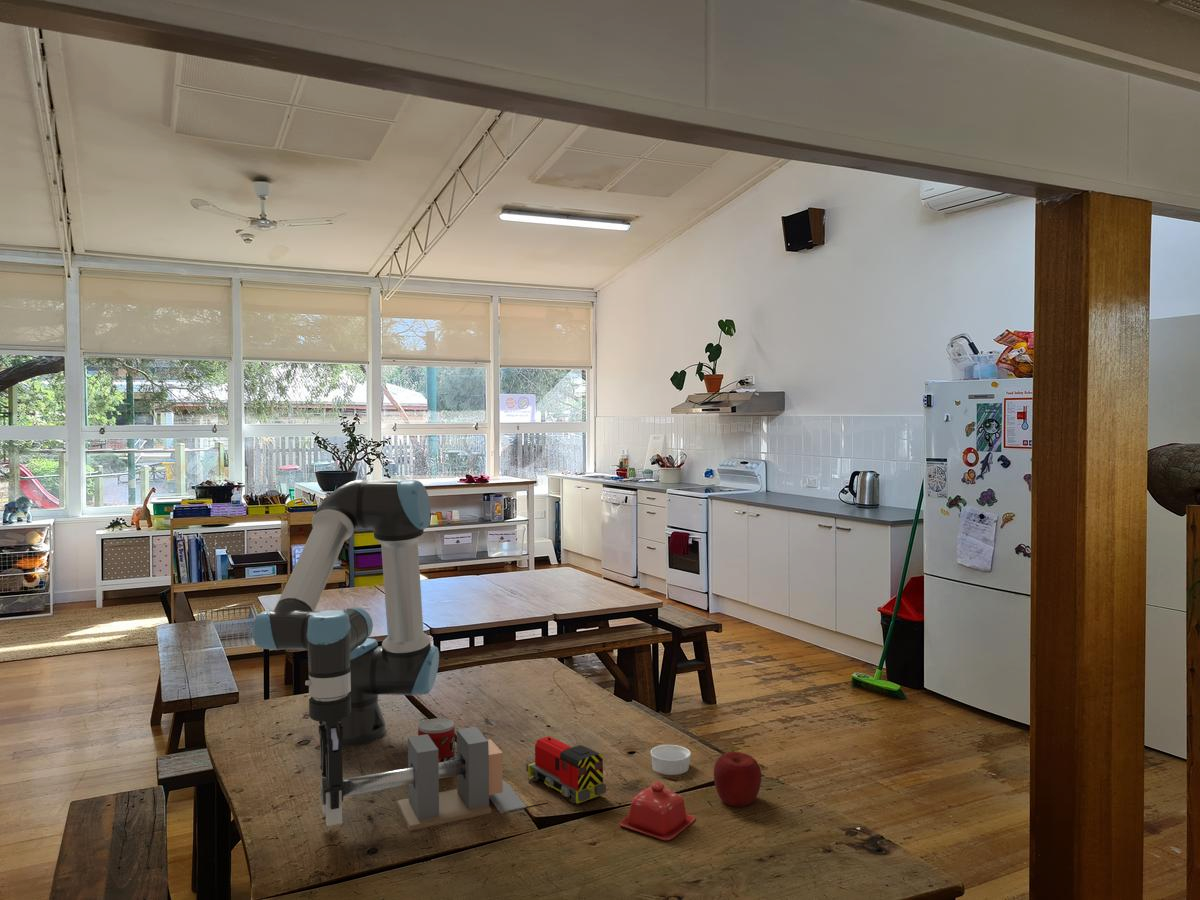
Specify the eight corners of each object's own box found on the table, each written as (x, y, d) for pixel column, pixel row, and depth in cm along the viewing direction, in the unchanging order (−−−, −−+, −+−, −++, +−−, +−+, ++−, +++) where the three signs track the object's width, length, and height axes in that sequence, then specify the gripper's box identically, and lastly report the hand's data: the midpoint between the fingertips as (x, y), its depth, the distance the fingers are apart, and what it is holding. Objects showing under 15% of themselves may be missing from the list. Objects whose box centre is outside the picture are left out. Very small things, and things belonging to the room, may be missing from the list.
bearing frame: (409, 831, 157) (408, 757, 157) (397, 805, 168) (396, 736, 168) (491, 814, 164) (490, 743, 164) (474, 790, 175) (473, 724, 174)
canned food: (447, 782, 179) (446, 731, 179) (412, 779, 181) (411, 729, 180) (460, 768, 187) (459, 719, 186) (426, 765, 188) (426, 717, 188)
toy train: (580, 811, 165) (580, 761, 165) (525, 780, 180) (525, 734, 180) (606, 801, 169) (606, 753, 169) (551, 772, 184) (550, 727, 184)
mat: (479, 787, 176) (479, 784, 176) (524, 778, 181) (524, 775, 181) (500, 814, 164) (500, 811, 164) (547, 804, 168) (547, 802, 168)
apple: (732, 819, 161) (732, 767, 161) (703, 799, 170) (703, 751, 170) (771, 808, 166) (771, 758, 165) (741, 790, 174) (741, 742, 174)
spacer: (476, 779, 173) (476, 741, 173) (490, 777, 174) (490, 739, 174) (488, 795, 166) (488, 755, 166) (502, 792, 167) (502, 752, 167)
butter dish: (698, 823, 160) (698, 779, 160) (668, 848, 151) (668, 801, 151) (647, 808, 167) (647, 766, 167) (615, 831, 157) (615, 786, 157)
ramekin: (698, 770, 184) (698, 751, 184) (674, 783, 178) (674, 763, 178) (667, 760, 190) (667, 741, 190) (642, 772, 184) (642, 752, 184)
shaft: (324, 809, 154) (323, 783, 154) (321, 799, 159) (320, 774, 158) (487, 778, 167) (486, 755, 167) (480, 770, 172) (480, 746, 171)
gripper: (303, 684, 163) (306, 802, 164) (314, 712, 147) (317, 843, 147) (343, 679, 166) (345, 795, 167) (358, 706, 150) (360, 834, 151)
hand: (332, 817), depth 157 cm, fingers closed on shaft, 5 cm apart
